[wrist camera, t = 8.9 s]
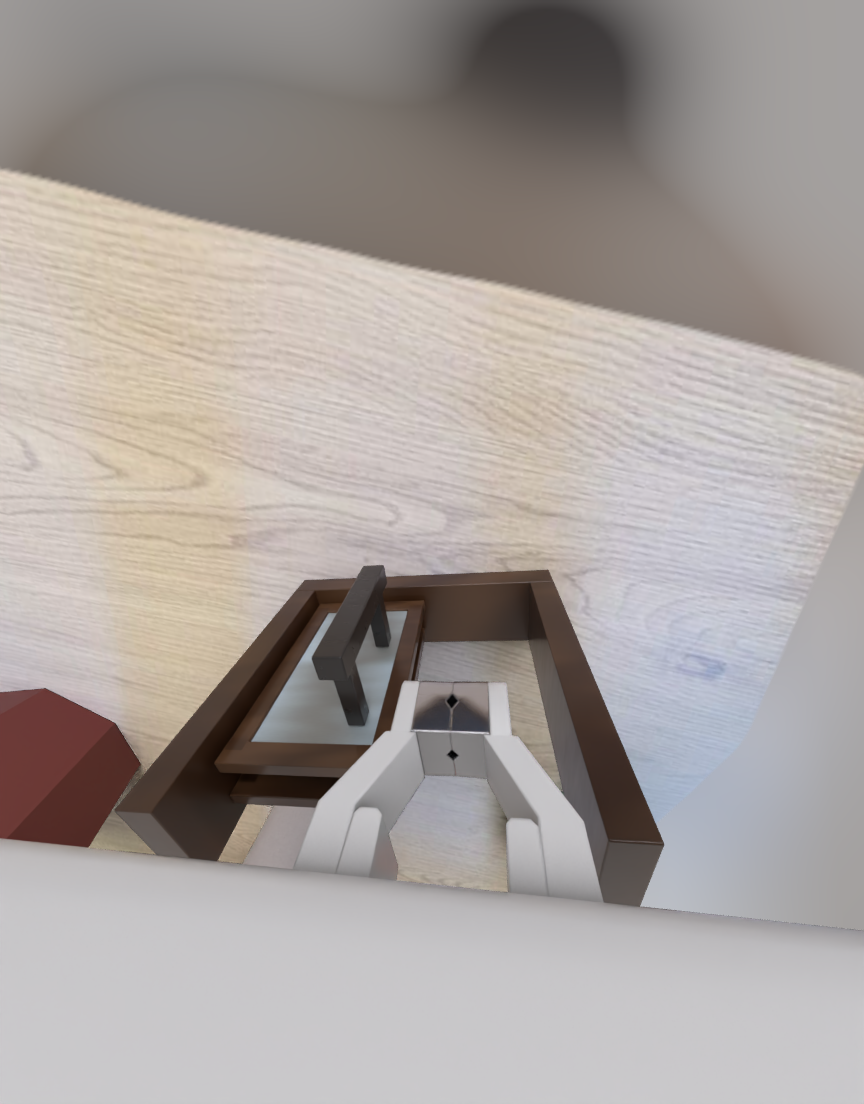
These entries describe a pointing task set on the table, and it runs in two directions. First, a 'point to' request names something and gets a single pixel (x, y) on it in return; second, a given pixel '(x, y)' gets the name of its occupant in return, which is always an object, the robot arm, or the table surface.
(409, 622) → the sliding window sash
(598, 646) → the table surface
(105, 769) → the bucket
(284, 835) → the coffee cup
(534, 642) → the window frame
